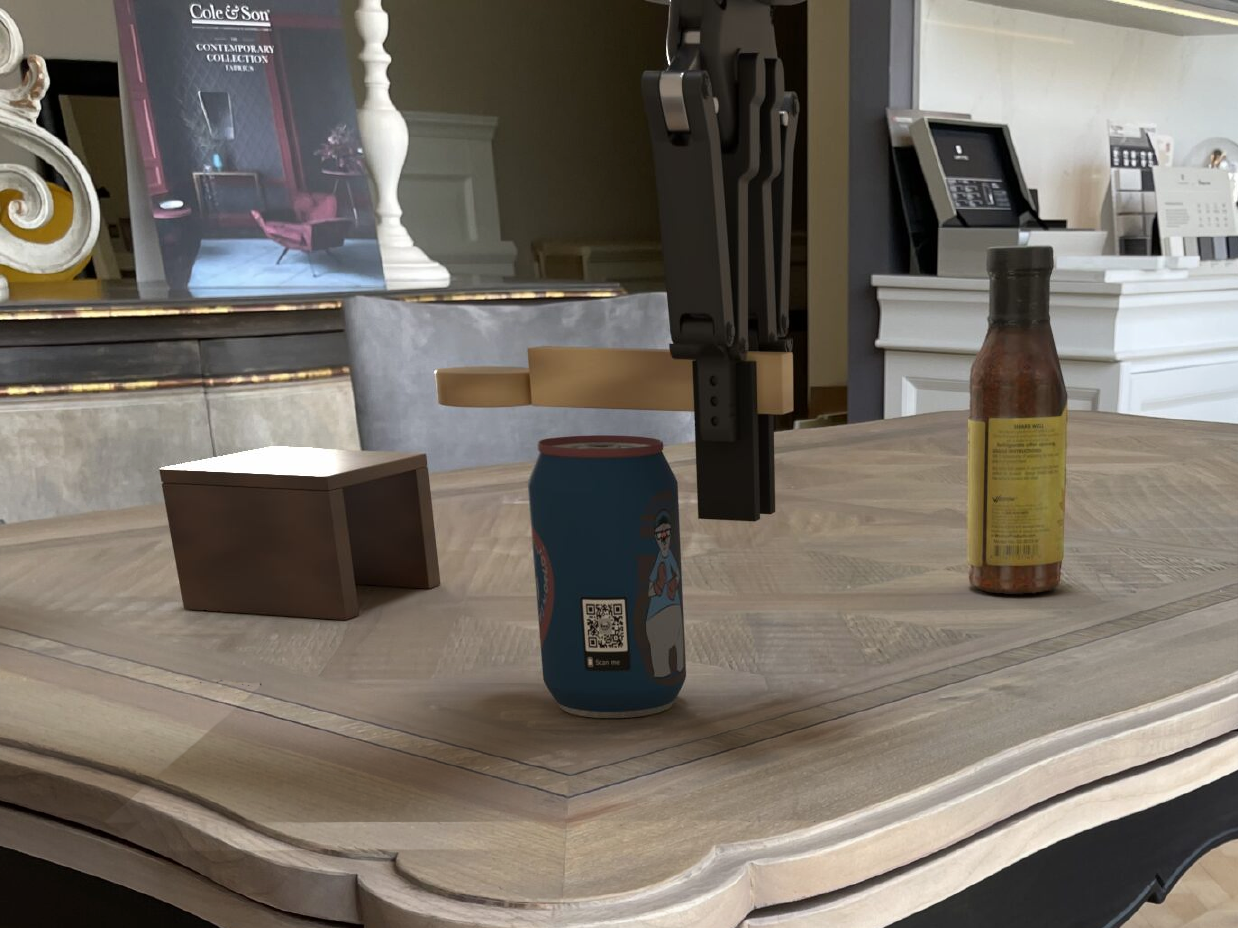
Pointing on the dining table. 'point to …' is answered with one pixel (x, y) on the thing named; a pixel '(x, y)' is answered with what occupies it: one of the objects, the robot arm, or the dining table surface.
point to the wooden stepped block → (604, 381)
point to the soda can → (608, 574)
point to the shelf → (299, 529)
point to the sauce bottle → (1017, 432)
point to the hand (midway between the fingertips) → (737, 514)
